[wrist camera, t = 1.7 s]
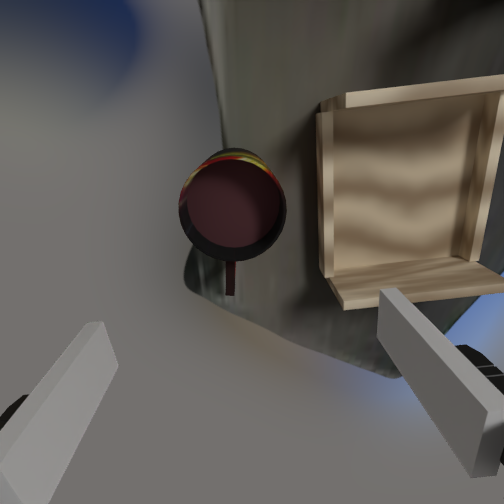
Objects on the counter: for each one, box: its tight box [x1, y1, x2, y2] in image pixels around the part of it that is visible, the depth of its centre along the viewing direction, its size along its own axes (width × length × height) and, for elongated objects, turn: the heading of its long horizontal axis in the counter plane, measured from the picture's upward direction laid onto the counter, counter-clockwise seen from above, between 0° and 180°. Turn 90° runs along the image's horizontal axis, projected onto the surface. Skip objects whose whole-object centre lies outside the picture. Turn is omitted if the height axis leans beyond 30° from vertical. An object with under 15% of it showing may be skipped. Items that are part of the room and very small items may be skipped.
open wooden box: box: [316, 74, 504, 310], centre depth 34 cm, size 22×20×9 cm
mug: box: [179, 148, 287, 296], centre depth 33 cm, size 10×14×12 cm
